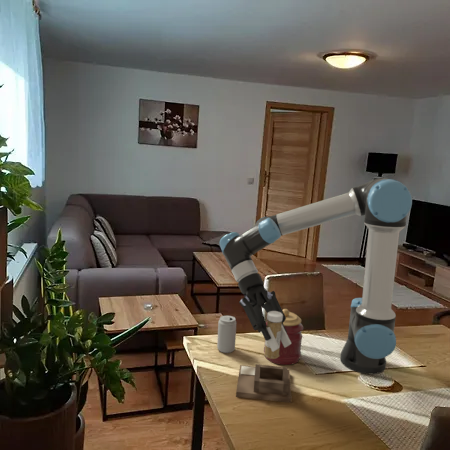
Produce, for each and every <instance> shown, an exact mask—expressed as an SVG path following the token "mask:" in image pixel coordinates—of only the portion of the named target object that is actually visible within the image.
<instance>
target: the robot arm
mask: <svg viewBox="0 0 450 450" xmlns="http://www.w3.org/2000/svg"><path fill="white" fill-rule="evenodd" d="M412 205H413V197H412V193H411V192H410V190H409V189H408V187H407V186H406V185H405V183H402V182H401V181H399V180H397V179H393V178H387V177H379V178H375V179H373V180H370V181H367V182H366V183H363V184H360V185H358V186H355V187H351V188H350V190H349V191H348V192H346V193H343V194H340V195H336V196H333V197H329V198H325V199H323V200H319V201H317V202H313V203H310V204H309V203H308V204H307V205H306V204H305V205H303V206H300V207H296V208H293V209H290V210H286V211H283V212H281V213H277V214H275V215H271V216H264V217H263V216H262V217H261V218H259V219H258V220H257V221H256V222H255V224H254V225H253V226H252V227H251V228H250V229H248V230H247V231H245V232H243V233H241V234H240V233H239V232H235V231H233V232H230V233H227V234H225V235H223V236H222V237H221V238H220V240H219V247H220V249H221V253H222V255H223V256H224V258H225V261H226V263H227V265H228V267H229V268H230V271H231V273H232V275H233V276H234V280H235V281H236V283H237V285H238V288H239V290H240V292H241V294H242V295H243V296H244V297H243V298H241V299H240V301H239V305H240V306H241V307H242V308H243V310H244V312H245V314H246V317H247V319H248V320H249V322H250V325H251V327H252V328H253V330H254V331H257V332H258V333H261V334H262V335H263V338H264V341H265V340H266V341H268V343H269V345H270V348H271V350H272V352H274V351H276V350H277V349H279V348H280V347H279V345H278V343H277V341H276V339H275V337H274V335H273V333H272V331H271V329H270V327H268V328H267V325H266V322H267V321H266V319H265V316H264V313H263V310H262V309H264V310H265V312H266V313H268V312H270V311H278V312H281V313H282V314H283V320H282V325H281V341H282V343H283V346H284V348H285V347H287V346H289V345H290V344H292V343H291V341H290V339H289V337H288V335H287V331H286V329H285V327H284V325H283V322H284V321H285V320H286V317H285V315H284V313H283V311H282V310H283V309H282V306H281V305H280V302H279V301H278V299H277V295H276V292H275V290H272V291H268V290H267V289H266V288H265V286H264V284H265V283H264V281H263V278H262V277H261V275H260V273H259V270H258V268H257V267H256V264H255V263H254V260H253V259H252V256H253V255H255V254H256V253H258V252H259V251H261V250H263V249H264V248H267V247H268V246H270V245H271V244H274V243H275V242H276V241H278V240H279V239H280V238H281V237H282V236H285V235H289V234H291V233H292V234H293V233H295V232H296V233H297V232H299V231H303V230H306V229H310V228H312V227H316V226H319V225H323V224H326V223H330V222H333V221H337V220H341V219H344V218H348V217H351V216H354V215H357V216H358V217H362V216H364V222H363V223H364V225H365V226H366V227H367V229H368V235H367V244H366V256H365V266H364V267H365V268H364V275H363V276H364V277H363V278H364V279H363V287H362V297H355V298H353V299H352V300H351V304H350V313H349V314H350V315H349V324H348V332H347V333H348V334H347V340H346V341H345V343H344V345H343V348H342V349H341V352H340V357H339V358H340V362H341V364H342V365H343V366H344V367H346V368H348V369H349V370H351V371H354V372H358V373H362V374H366V373H373V374H372V375H375V374H376V375H377V374H380V373H383V372H384V371H386V366H387V359H386V358H387V357H388V356H390V355H391V354H392V353H393V352H394V351H395V349H396V346H397V336H396V334H395V323H396V313H395V311H394V310H393V309H392V304H393V302H392V301H393V293H394V285H395V278H396V277H395V276H396V266H397V256H398V248H399V247H398V246H399V238H400V237H399V236H400V232H401V231H402V230H403V229H405V228H406V225H407V219H408V217H407V216H408V214H409V213H410V211H411V209H412Z"/></svg>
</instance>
